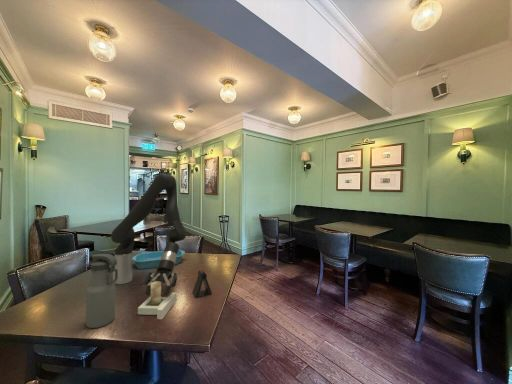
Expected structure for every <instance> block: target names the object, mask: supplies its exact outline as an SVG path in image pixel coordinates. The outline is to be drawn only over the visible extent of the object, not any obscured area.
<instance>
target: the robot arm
mask: <svg viewBox="0 0 512 384" xmlns="http://www.w3.org/2000/svg"><path fill="white" fill-rule="evenodd" d="M177 188H178V187H177V179H176V178H175V176H173V175H171V174H167V173H159V174H157V175H156V176H155V177H154V179H153V180H152V182H151V184H150V185H149V187H148V188H147V190H146V191H145V192H144V194H143V195H142V196H141V198H140V199H139V200H138V201H137V202H136V204H135V205H134V206H133V207H132V209H131V210H130V211H129V212H128V214H127V215H126V216H125V218H124V219H123V220H122V221H121V222H120V223H119V224H118V225H117V226H116V227H115V228H114V229H113V230H112V232H111V235H110V238H111V241H112V242H113V243H115V244H119V245H118V246H117V247H116V248H115V249H114V257H115V258H116V260H117V265H115V269H117V270H118V278H117V280H116V281H115V282H114V284H115V285H126V284H128V283H130V282H132V281H133V260H132V257H133V249H134V247H135V237H136V236H135V235H136V234H135V230H134V227H135V226H137V225H138V224H141V222H143V221H144V220H145V219H147V217H148V216H149V215H150V214H151V213H152V212H153V210H154V208H155V205H156V200H157V197H158V196H159V195H160V194H161V192H163V191H165V192H166V204H165V217H166V222H167V225H168V226H170V227H171V226H173V228H174V229H171V230H169V231H168V232H167V234H166V235H165V236H166V237H165V238H166V239H165V246H164V250H163V251H164V253H163V255H162V257H161V259H160V262H159V265H158V267H156V268H157V269H156V271H155V272H153V273H152V272H151V271H149V272H148V275H147V276H146V279H145V280H144V285H145V286H146V290H145V291H144V294H145V295H146V297H148V296H149V297H150V295H151V283H152V282H155V281H160V282H161V284H166V285H167V286H166V288H165V291H164V293H163V296H164V297H168V295H170V291H171V288H174V287H176V284H177V282H178V277H179V275H178V273H177V272H174V267H175V265H176V264H175V263H176V258H177V254H178V251H179V250H180V245H179V244H178V243H176V242H180V241H184V240H185V239H186V237H187V231H186V228H185V226H184V224H183V223H182V220H181V217H180V212H179V211H180V210H179V207H178V193H177ZM173 272H174V273H173ZM171 278H172V279H171ZM114 279H115V271H114V272H112V281H113V280H114ZM170 279H171V280H172V281H171V282H170Z"/></svg>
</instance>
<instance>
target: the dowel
mask: <svg viewBox="0 0 512 384" xmlns="http://www.w3.org/2000/svg"><path fill="white" fill-rule="evenodd" d="M150 297H151V306H159V305H160V304H161V297H162V283H161V282H160V281H156V280H155V282H152V283H151V291H150Z"/></svg>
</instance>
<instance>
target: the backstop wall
mask: <svg viewBox="0 0 512 384" xmlns="http://www.w3.org/2000/svg"><path fill="white" fill-rule="evenodd" d="M167 297H168V298H167V299H166V301H165V302H164V303H163V304H162V305H161V306H160V307H159V309H158V310H157V315H156V320H163V318H164V317H165V316H166V315H167V314H168V313H169V311H170V309H171V308H172V307H173V305H174V304H175V303H177V300H178V295H177V291H173V292H171V294H169V296H167Z"/></svg>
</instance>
